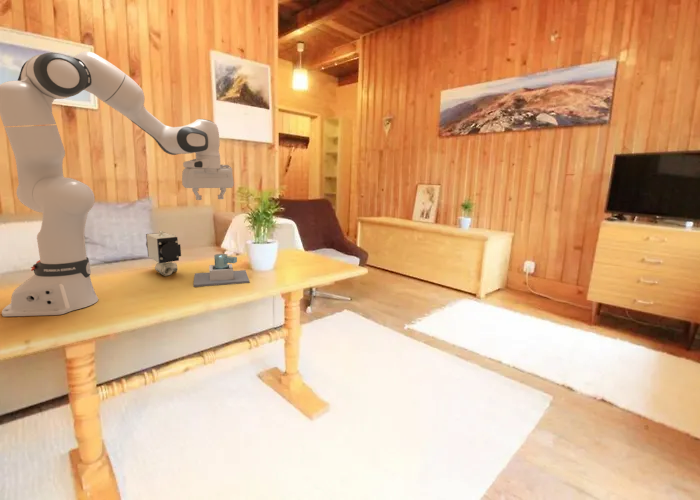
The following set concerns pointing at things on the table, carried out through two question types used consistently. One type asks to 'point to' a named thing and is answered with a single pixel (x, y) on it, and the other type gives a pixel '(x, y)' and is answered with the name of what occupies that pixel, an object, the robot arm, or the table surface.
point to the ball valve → (163, 251)
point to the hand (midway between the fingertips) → (210, 199)
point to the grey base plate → (220, 277)
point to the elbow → (223, 261)
